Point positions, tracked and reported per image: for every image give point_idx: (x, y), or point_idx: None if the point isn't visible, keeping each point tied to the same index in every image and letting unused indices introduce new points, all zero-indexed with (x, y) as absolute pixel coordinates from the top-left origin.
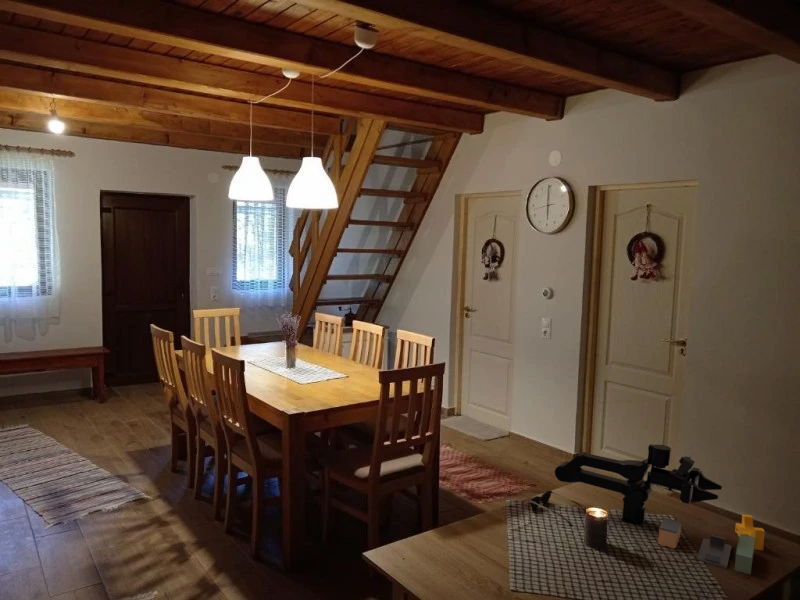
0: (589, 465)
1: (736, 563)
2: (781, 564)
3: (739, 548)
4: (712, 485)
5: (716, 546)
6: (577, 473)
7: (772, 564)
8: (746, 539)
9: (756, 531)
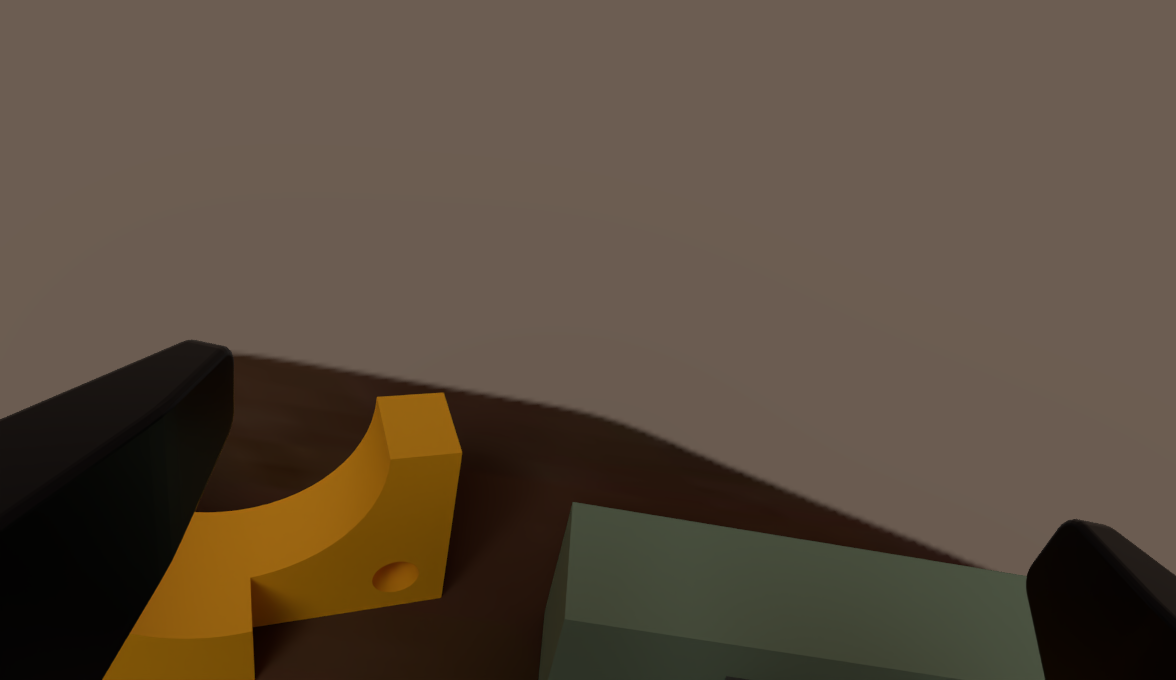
0: None
1: None
2: (628, 467)
3: (997, 667)
4: (79, 581)
5: None
6: None
7: (674, 516)
8: (689, 578)
9: (460, 459)
